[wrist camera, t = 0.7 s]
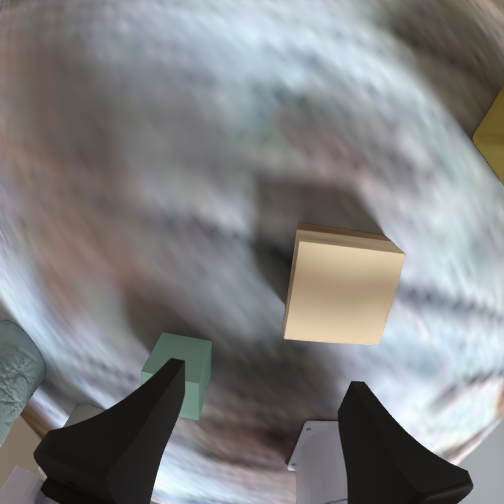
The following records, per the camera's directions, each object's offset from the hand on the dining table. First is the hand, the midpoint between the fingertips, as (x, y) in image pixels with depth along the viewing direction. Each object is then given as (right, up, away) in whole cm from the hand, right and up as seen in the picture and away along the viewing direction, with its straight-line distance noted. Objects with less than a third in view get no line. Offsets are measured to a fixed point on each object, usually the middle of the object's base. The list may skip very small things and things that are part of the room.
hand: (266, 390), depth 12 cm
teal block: (-6, -3, +12) cm, 13 cm away
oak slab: (+5, +4, +6) cm, 9 cm away
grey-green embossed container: (-27, -6, +14) cm, 31 cm away
